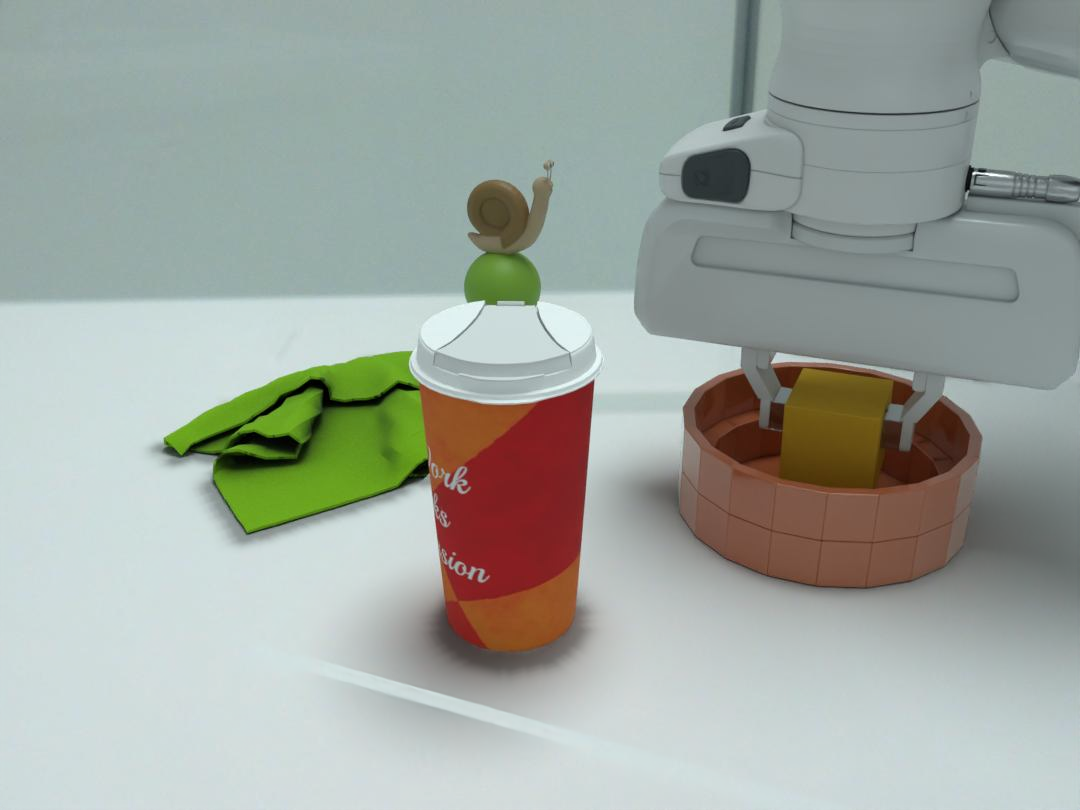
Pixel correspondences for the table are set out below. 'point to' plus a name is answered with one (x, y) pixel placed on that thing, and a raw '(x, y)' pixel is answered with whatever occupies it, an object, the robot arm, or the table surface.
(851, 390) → the toy block
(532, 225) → the snail figurine
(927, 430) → the bowl
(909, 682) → the table surface
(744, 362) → the robot arm
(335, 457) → the cloth
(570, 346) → the paper cup
